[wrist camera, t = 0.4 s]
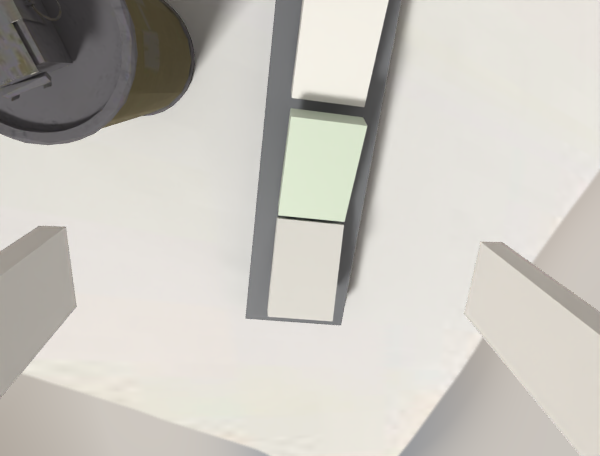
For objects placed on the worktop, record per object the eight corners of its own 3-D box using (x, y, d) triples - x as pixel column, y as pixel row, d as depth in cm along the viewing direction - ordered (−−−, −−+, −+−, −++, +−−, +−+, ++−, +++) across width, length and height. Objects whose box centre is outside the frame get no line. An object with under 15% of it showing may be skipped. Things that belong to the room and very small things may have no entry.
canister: (213, 92, 38) (157, 108, 19) (109, 131, 39) (-42, 184, 20) (160, -38, 34) (27, -174, 16) (46, 8, 35) (-215, -70, 16)
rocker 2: (267, 310, 40) (267, 316, 38) (276, 216, 39) (277, 218, 37) (329, 314, 40) (332, 321, 38) (339, 222, 39) (343, 225, 37)
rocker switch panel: (247, 301, 46) (244, 324, 41) (281, -57, 34) (283, -76, 30) (338, 308, 47) (345, 331, 43) (400, -37, 35) (418, -53, 31)
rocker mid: (278, 203, 38) (278, 215, 37) (290, 108, 33) (290, 116, 32) (341, 210, 39) (344, 221, 37) (363, 117, 34) (367, 125, 32)
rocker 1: (291, 90, 35) (291, 97, 33) (306, -35, 30) (308, -34, 28) (360, 99, 36) (364, 107, 34) (387, -22, 31) (393, -20, 29)
